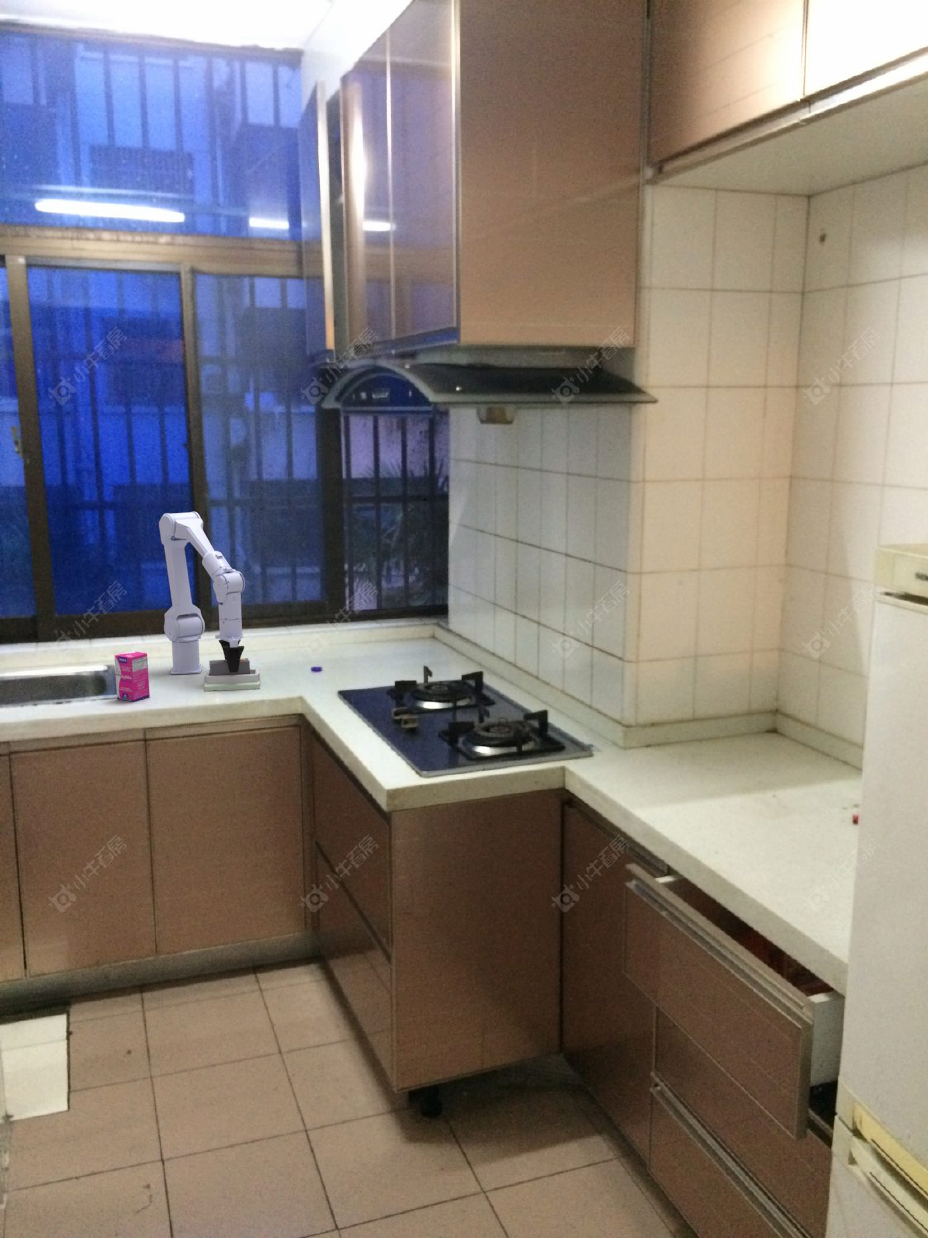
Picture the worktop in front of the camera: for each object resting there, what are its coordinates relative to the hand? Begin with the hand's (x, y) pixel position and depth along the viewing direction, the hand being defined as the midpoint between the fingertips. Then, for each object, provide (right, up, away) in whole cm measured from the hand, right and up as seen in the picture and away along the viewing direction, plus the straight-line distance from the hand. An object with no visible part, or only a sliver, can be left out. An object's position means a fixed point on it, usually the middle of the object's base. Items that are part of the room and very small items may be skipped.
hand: (232, 668), depth 272 cm
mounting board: (0, -4, +1) cm, 4 cm away
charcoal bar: (-1, -3, 0) cm, 3 cm away
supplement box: (-21, -7, -14) cm, 27 cm away
